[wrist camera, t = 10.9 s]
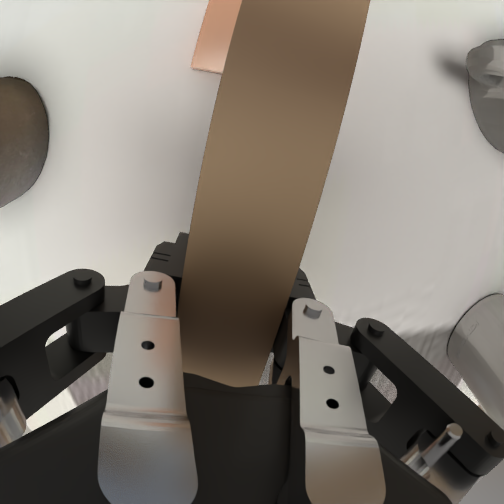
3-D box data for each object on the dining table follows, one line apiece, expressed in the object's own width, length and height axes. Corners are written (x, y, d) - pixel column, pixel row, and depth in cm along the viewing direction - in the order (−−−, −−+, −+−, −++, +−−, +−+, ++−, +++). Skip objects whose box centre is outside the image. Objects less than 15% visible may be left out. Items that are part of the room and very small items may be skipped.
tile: (318, 98, 19) (349, -26, 15) (324, 98, 17) (356, -34, 13) (193, 70, 18) (232, -56, 14) (190, 66, 16) (232, -66, 12)
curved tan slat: (251, -2, 10) (264, -71, 5) (320, 16, 11) (376, -36, 5) (173, 396, 19) (162, 475, 13) (219, 403, 19) (219, 483, 14)
